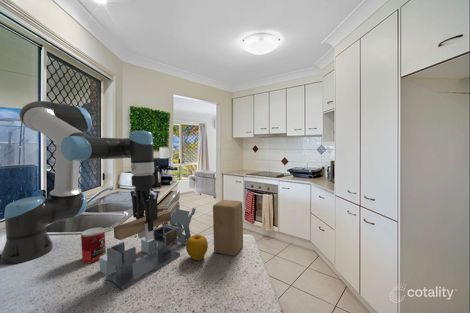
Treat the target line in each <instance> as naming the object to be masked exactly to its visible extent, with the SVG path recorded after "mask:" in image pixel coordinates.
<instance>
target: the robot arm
mask: <svg viewBox="0 0 470 313" xmlns="http://www.w3.org/2000/svg"><path fill="white" fill-rule="evenodd" d="M19 120H20V122H21V123H22V125H24V126H25V127H27V128H28V129H30V130H31V131H34V132H39V133H41V134H42V135H44V136H45V137H47V138H48V139H50V140H51V141H53V142H54V143H56V148H55V166H54V167H55V169H54V172H55V173H54V189H52V190H51V191H49V197H45V196H44V195H35V196H29V197H25V198H21V199H18V200H17V199H16V200H14V201H12V202H10V203H8V204H7V205H6V206H5V208H4V215H3V216H4V217H3V218H4V220H5V223H4V224H5V235H6V236H5V238H6V241H5V245H4V247H3V249H2V252H1V254H0V263H2V265H3V264H4V265H12V264H14V265H15V264H19V263H24V262H27V261H32V260H34V259H37V258H40V257H42V256H44V255H46V254H47V253H49V252H51V251H52V250H53V248H54V246H53V242H52V240H51V238H50V236H49V234H48V232H47V225H50V224H54V223H57V222H61V221H65V220H69V219H70V220H71V219H73V218H75V217H79V216H81V215H82V214H83V213H84V212H85V210H86V208H87V205H88V199H87V195H86V194H85V193H84V192H82V191H83V190H81V189H80V188H79V177H80V176H79V175H80V162H82V161H95V160H96V161H98V160H112V159H115V160H118V159H120V160H121V159H130V170H131V171H130V172H131V175H132V176H131V186H132V187H135V188H134V190H131V191H130V197H131V204H132V206H131V207H132V217H133V218H134V219H135V220H137V219H140V218H143V217H146V222H144V223H145V231H143V232H140V233H138V234H137V238H138V239H139V240H141V239H143V238H145V241H149V240H151V239H153V238H154V234H153V230H155V227H153V221H155V220H157V213H158V198H159V193H158V192H154V190H153V185H155V183H156V181H155V180H156V178H155V174H154V173H155V161H154V160H155V159H154V138H153V133H152V132H151V131H146V130H133V131H130V133H129V137H125V138H120V137H119V138H118V137H117V138H116V137H100V136H99V137H98V136H90V135H88V134H87V133H88V132H90V131H91V128H92V126H93V122H92V117H91V115H90V112H89V111H88V110H87V109H86V108H84V107H81V106H80V107H79V106H76V105H72V104H71V105H70V104H63V103H57V102H51V101H45V100H37V101H33V102H29V103H26V104H25V105H23V107H21V109H20V111H19Z"/></svg>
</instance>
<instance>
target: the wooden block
mask: <svg viewBox="0 0 470 313" xmlns="http://www.w3.org/2000/svg"><path fill="white" fill-rule="evenodd" d="M243 214H244V213H243V201H241V200H230V199H229V200H228V199H221V200H219V201H218V202H217V203H215V204H213V206H212V221H213V222H212V223H213V224H212V226H213V228H212V229H213V231H212V232H213V251H214V253H218V254H223V255H227V256H232V257H233V256H237V254H238V253H239V252H240V250H241V249H242V247H243V246H244V222H243V221H244V220H243V219H244V216H243Z"/></svg>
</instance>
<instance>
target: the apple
mask: <svg viewBox="0 0 470 313" xmlns="http://www.w3.org/2000/svg"><path fill="white" fill-rule="evenodd" d="M186 240H187V239H186ZM186 243H187V244H186V245H185V249H186V253H187V254H188V256H189V257H190V258H191V259H192V260H194V261H201V260H202V259H204V257H205V255H206V254H207V251H208V248H209V244H208V243H209V242H208V240H207V238H206V236H205V235H202V234H194V235H191V237H190V238H189V239H188V240H187V242H186Z"/></svg>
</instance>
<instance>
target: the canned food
mask: <svg viewBox="0 0 470 313" xmlns="http://www.w3.org/2000/svg"><path fill="white" fill-rule="evenodd" d="M80 242H81V243H80V244H81V245H80V246H81V258H82V259H81V260H82V262H83V263H86V264H91V263H95V262H96V263H97V262H99V257H100V256H103V255H105V254H107V249H106V231H105V227H93V228H88V229H85V230H83V231H82V232H81V234H80Z"/></svg>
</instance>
